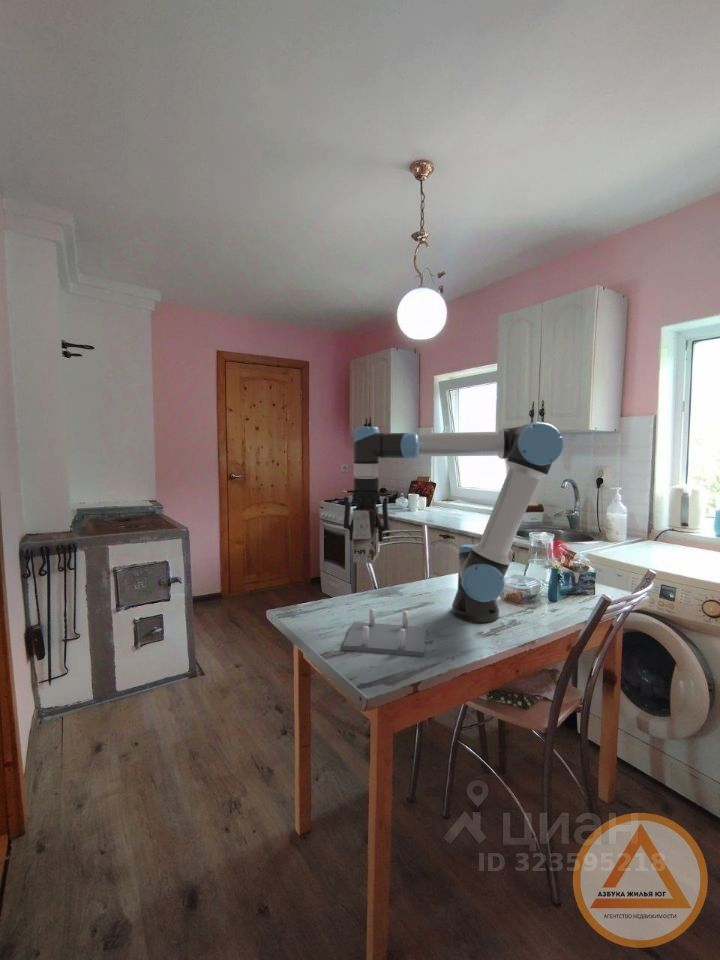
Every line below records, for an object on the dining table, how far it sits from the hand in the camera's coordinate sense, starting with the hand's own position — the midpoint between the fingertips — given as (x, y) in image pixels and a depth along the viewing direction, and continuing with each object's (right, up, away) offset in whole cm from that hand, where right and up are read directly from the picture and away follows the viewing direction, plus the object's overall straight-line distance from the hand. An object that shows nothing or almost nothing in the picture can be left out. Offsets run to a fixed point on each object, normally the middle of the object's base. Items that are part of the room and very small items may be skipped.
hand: (366, 551), depth 137 cm
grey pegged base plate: (+6, -24, -10) cm, 26 cm away
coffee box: (0, -3, 0) cm, 3 cm away
